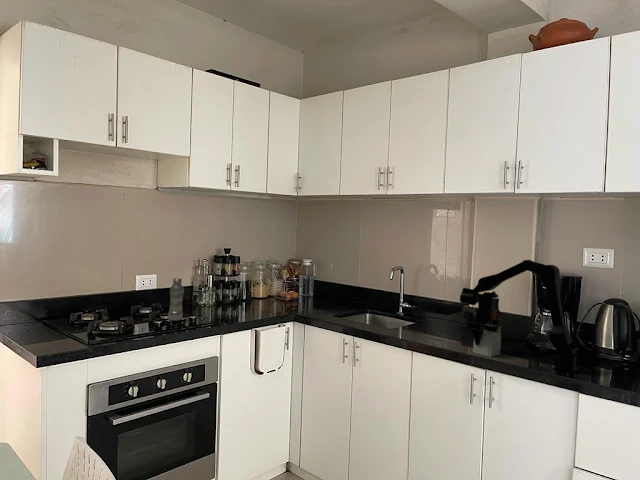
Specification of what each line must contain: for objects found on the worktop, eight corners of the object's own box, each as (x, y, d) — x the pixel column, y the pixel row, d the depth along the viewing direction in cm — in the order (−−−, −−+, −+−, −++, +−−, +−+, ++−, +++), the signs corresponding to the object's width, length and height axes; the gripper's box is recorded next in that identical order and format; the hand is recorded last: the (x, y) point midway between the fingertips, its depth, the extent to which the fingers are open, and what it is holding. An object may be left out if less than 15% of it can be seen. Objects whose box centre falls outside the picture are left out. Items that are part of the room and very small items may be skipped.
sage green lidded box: (500, 354, 206) (501, 333, 205) (490, 356, 200) (492, 335, 200) (482, 349, 211) (483, 329, 211) (472, 352, 206) (474, 331, 206)
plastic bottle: (166, 319, 235) (168, 278, 235) (181, 319, 239) (183, 278, 238) (169, 322, 230) (171, 279, 229) (183, 321, 233) (186, 279, 232)
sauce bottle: (502, 340, 234) (505, 298, 233) (497, 342, 229) (499, 299, 229) (488, 337, 238) (491, 296, 238) (483, 339, 233) (486, 297, 233)
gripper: (479, 302, 219) (476, 337, 219) (456, 305, 206) (453, 342, 207) (503, 306, 211) (500, 342, 211) (480, 309, 198) (478, 348, 198)
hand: (482, 343), depth 207 cm, fingers open, 9 cm apart
